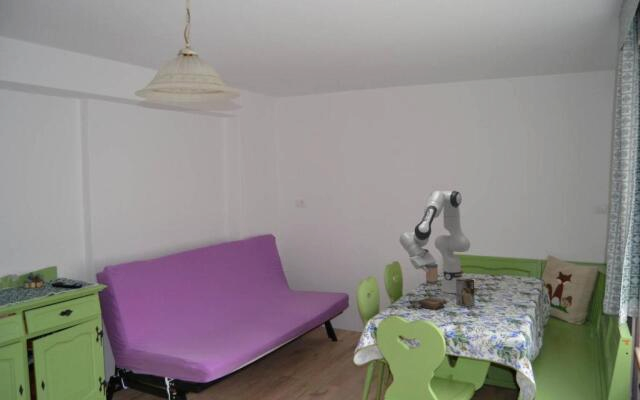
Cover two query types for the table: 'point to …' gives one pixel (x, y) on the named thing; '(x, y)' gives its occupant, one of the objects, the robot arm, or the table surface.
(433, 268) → the housing
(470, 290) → the coffee box
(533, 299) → the table surface
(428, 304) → the walnut stand
